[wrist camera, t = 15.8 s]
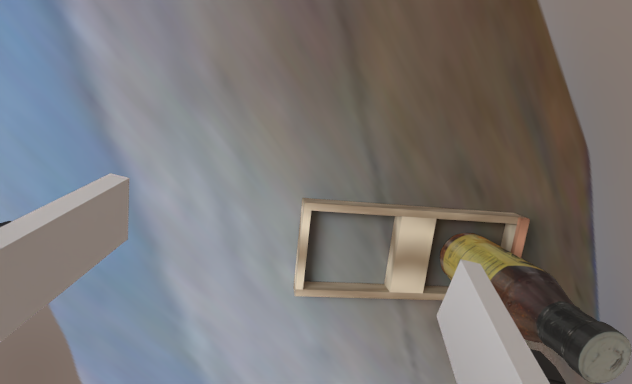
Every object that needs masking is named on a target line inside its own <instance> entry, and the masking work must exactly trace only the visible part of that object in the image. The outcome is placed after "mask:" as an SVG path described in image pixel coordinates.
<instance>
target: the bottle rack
mask: <svg viewBox="0 0 632 384" xmlns="http://www.w3.org/2000/svg"><path fill="white" fill-rule="evenodd" d="M311 211H326V212H341V213H356V214H372V215H387V216H395V219H394V226H393V232H392V239H391V245H390V251H389V258H388V264H387V270H386V277H385V283H384V284H368V283H338V282H309V281H304V275H305V265H306V256H307V247H308V237H309V228H310V219H311ZM436 219H448V220H464V221H479V222H494V223H506V224H505V228H504V233H503V237H502V242H501V246H500V247H502V248H504V249H505V250H507V251H509V252H511V253H512V254H514V255H516V256H518V257H520V258H521V255H522V251H523V247H524V243H525V239H526V234H527V230H528V226H529V222H530V219H528V218H525V217H523V216H520V215H518V214H515V213H508V212H494V211H480V210H465V209H451V208H437V207H423V206H409V205H395V204H380V203H366V202H352V201H338V200H324V199H309V198H302V208H301V218H300V228H299V238H298V248H297V258H296V268H295V278H294V293H295V296H310V297H347V298H383V299H419V300H443V299H444V297H445V295H446V292H447V290H448V288H449V286H426V285H425V279H426V274H427V268H428V263H429V257H430V252H431V246H432V241H433V235H434V230H435V224H436Z"/></svg>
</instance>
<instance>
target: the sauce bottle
mask: <svg viewBox="0 0 632 384" xmlns="http://www.w3.org/2000/svg"><path fill="white" fill-rule="evenodd" d="M460 259H462V260H466V261H471V262H475V263H479V264H481V266H482V268H483V269H484V271H485V273H486V274H487V276H488V278H489V280H490V281H491V283H492V285H493V286H494V288H495V290H496V292H497V293H498V295H499V297H500V299H501V300H502V302H503V304H504V305H505V307H506V309H507V311H508V312H509V314H510V316H511V317H512V319H513V321H514V323H515V324H516V326H517V328H518V330H519V331H520V333H521V335H522V336H523V338H524V339H526V340H529V341H534V342H538V343H542V342H543V343H544V344H545V345H546V346H547V347H549V348H551V349H553V350H554V351H555V352H556V353H558V354H559V355H560V356H561V357H562V358H564V359H565V361H566V362H567V363H568V365H569V366H570V367H571V368H572V369H573V370H574V371H576V372H577V373H578V374H579V375H580V376H581V377H583V378H584V379H585V380H587V381H589V382H592V383H606V382H609V381H611V380H613V379H615V378H616V377H618V376H619V375H620V374H621V373H622V372H623V371H624V370H625V368H626V366H627V365H628V363H629V360H630V355H631V344H630V343H629V340H628V339H627V338H626V337H625V336H624V335H623V334H622V333H620V332H619V331H617V330H616V329H614V328H613V327H612V326H610V325H608V324H606V323H604V322H599V321H597V320H595V319H593V318H592V317H590V316H589V315H587V314H585V313H584V312H582V311H581V310H580V308H578V307H576V306H575V305H574V304H573V303H572V302H571V300H570V299H569V298H568V296H567V295H566V294H565V292H564V291H563V289H562V288H561V286H560V285H559V284H558V282H557V281H556V280H555V279H554V278H553V277H552V276H551V275H550V274H548V273H547V272H545V271H543V270H542V269H540V268H538V267H536V266H534V265H532V264H531V263H529V262H527V261H525V260H523V259H521V258H520V257H518V256H516V255H514V254H512V253H511V252H509V251H507V250H505V249H504V248H502V247H500V246H498V245H497V244H495V243H493V242H491V241H489V240H488V239H486V238H484V237H482V236H479V235H476V234H474V233H462V234H457V235H455V236H453V237H451V238H450V239H449V240H448V241H447V242H446V243H445V244H444V246H443V247H442V249H441V251H440V263H441V267H442V270H443V271H444V273H445V274H446V275H448V277H449V279H451V280H452V278H453V276H454V274H455V271H456V269H457V267H458V264H459V262H460Z"/></svg>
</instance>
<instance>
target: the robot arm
mask: <svg viewBox="0 0 632 384" xmlns="http://www.w3.org/2000/svg"><path fill="white" fill-rule="evenodd" d="M128 208H129V178H127V177H123V176H119V175H114V174H108V175H106V176H104V177H102V178H100V179H98V180H96V181H94V182H92V183H90V184H88V185H86V186H84V187H82V188H80V189H78V190H76V191H73V192H71V193H69V194H67V195H65V196H63V197H61V198H59V199H57V200H55V201H53V202H51V203H49V204H47V205H45V206H43V207H41V208H39V209H37V210H35V211H33V212H31V213H29V214H27V215H24V216H22V217H20V218H18V219H16V220H14V221H7V222H3V223H0V342H1V341H3V340H4V339H5V338H6V337H7V336H9V335H10V334H11V333H12V332H14V331H15V330H16V329H18V328H19V327H20V326H21V325H22V324H24V323H25V322H26V321H27V320H29V319H30V318H31V317H32V316H34V315H35V314H36V313H37V312H38V311H40V310H41V309H42V308H43V307H45V306H46V305H47V304H48V303H50V302H51V301H52V300H53V299H54V298H56V297H57V296H58V295H59V294H61V293H62V292H63V291H64V290H66V289H67V288H68V287H69V286H70V285H72V284H73V283H74V282H75V281H77V280H78V279H79V278H80V277H82V276H83V275H84V274H85V273H86V272H88V271H89V270H90V269H91V268H93V267H94V266H95V265H96V264H98V263H99V262H100V261H101V260H102V259H104V258H105V257H106V256H107V255H109V254H110V253H111V252H112V251H114V250H115V249H116V248H117V247H119V246H120V245H121V244H122V243H123V242H125V241H126V240H127V239H128ZM437 319H438V322H439V325H440V329H441V332H442V336H443V339H444V342H445V346H446V349H447V352H448V356H449V359H450V362H451V366H452V369H453V372H454V376H455V379H456V382H457V384H566V383H565V381H564V379H563V378H562V376H561V375H560V373H559V371H558V370H557V368H556V367H555V366H554V365H553V364H552V363H551V362H550V361H549V360H548V359H547V358H546V357H545V356H544V355H543V354H542V353H541V352H540V351H536V350H532V349H529V347H528V345H527V343H526V342H525V340H524V338H523V336H522V335H521V333H520V331H519V330H518V328H517V326H516V324H515V323H514V321H513V319H512V317H511V316H510V314H509V312H508V311H507V309H506V307H505V305H504V304H503V302H502V300H501V299H500V297H499V295H498V293H497V292H496V290H495V288H494V286H493V285H492V283H491V281H490V280H489V278H488V276H487V274H486V273H485V271H484V269H483V268H482V266H481V264H479V263H475V262H471V261H466V260H462V259H460V262H459V264H458V267H457V269H456V271H455V274H454V276H453V278H452V281H451V283H450V285H449V288H448V290H447V292H446V295H445V297H444V299H443V302H442V304H441V306H440V309H439V311H438V313H437Z"/></svg>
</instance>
